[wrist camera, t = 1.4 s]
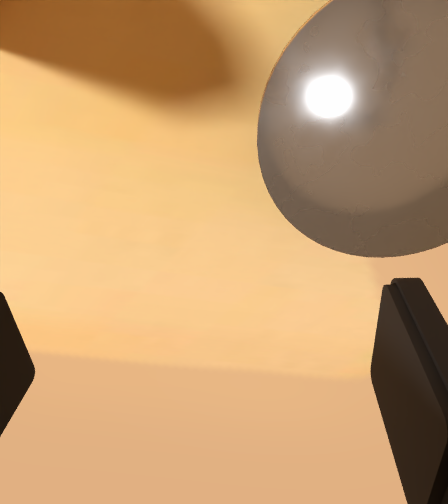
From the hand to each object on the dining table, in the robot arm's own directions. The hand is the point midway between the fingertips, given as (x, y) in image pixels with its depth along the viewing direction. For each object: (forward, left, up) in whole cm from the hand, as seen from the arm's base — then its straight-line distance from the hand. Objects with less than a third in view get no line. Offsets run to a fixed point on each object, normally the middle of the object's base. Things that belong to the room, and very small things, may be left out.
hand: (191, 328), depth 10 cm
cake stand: (-7, +8, -26) cm, 28 cm away
